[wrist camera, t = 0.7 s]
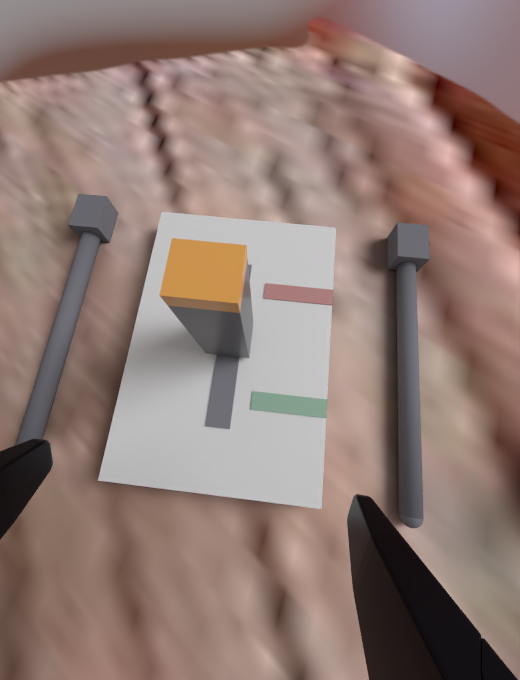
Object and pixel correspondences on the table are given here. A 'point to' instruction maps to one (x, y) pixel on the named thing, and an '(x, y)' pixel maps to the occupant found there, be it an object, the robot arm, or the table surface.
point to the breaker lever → (211, 294)
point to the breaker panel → (232, 375)
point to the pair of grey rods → (406, 258)
